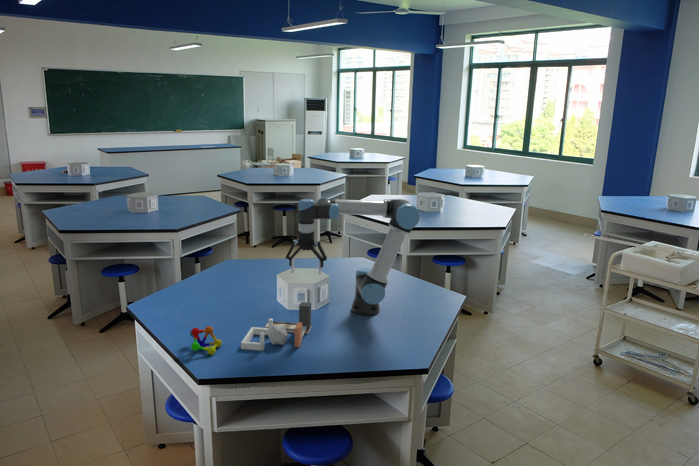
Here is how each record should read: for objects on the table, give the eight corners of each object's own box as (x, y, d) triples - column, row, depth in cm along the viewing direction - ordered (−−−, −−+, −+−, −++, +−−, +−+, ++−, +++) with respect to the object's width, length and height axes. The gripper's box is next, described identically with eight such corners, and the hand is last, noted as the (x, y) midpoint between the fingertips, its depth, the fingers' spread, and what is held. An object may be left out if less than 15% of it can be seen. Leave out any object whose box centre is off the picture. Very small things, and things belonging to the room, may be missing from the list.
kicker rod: (310, 327, 255) (311, 302, 252) (302, 347, 234) (302, 320, 231) (301, 326, 256) (301, 302, 253) (291, 346, 234) (291, 320, 231)
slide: (311, 326, 257) (311, 323, 256) (308, 333, 249) (308, 330, 249) (268, 323, 259) (268, 320, 259) (264, 330, 251) (263, 327, 251)
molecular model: (218, 348, 239) (188, 335, 236) (227, 331, 237) (197, 318, 234) (212, 364, 224) (180, 351, 221) (222, 346, 222) (189, 332, 220)
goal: (273, 334, 248) (273, 318, 246) (263, 350, 231) (263, 334, 229) (252, 332, 249) (251, 317, 247) (240, 349, 232) (240, 332, 230)
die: (279, 350, 233) (291, 331, 234) (262, 339, 233) (275, 320, 234) (281, 348, 241) (293, 330, 242) (265, 338, 242) (277, 320, 243)
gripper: (332, 230, 252) (332, 271, 258) (282, 228, 255) (283, 269, 260) (330, 234, 245) (330, 276, 250) (279, 232, 248) (279, 274, 253)
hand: (306, 273), depth 255 cm, fingers open, 13 cm apart
